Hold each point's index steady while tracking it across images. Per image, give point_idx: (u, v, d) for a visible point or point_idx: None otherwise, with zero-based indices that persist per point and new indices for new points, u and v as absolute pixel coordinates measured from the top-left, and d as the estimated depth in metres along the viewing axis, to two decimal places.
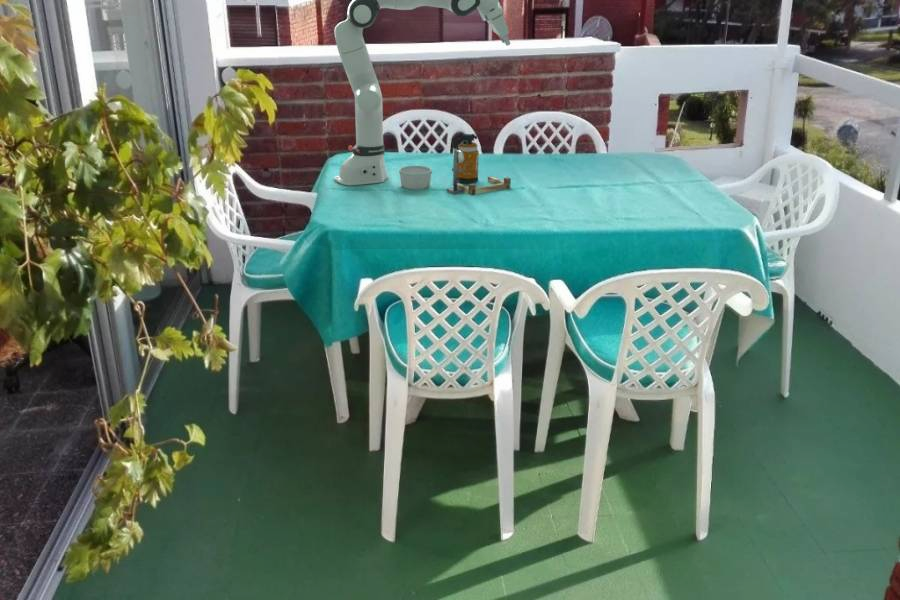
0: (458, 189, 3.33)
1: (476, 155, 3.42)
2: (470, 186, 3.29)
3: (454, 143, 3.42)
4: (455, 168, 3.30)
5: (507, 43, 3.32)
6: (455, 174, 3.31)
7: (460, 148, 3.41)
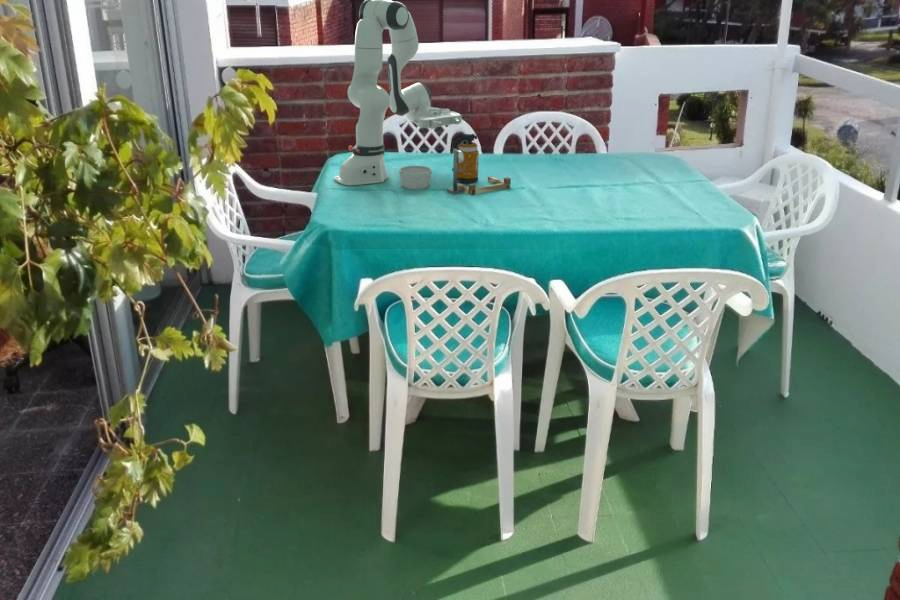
0: (458, 189, 3.33)
1: (476, 155, 3.42)
2: (470, 186, 3.29)
3: (454, 143, 3.42)
4: (455, 168, 3.30)
5: None
6: (455, 174, 3.31)
7: (460, 148, 3.41)
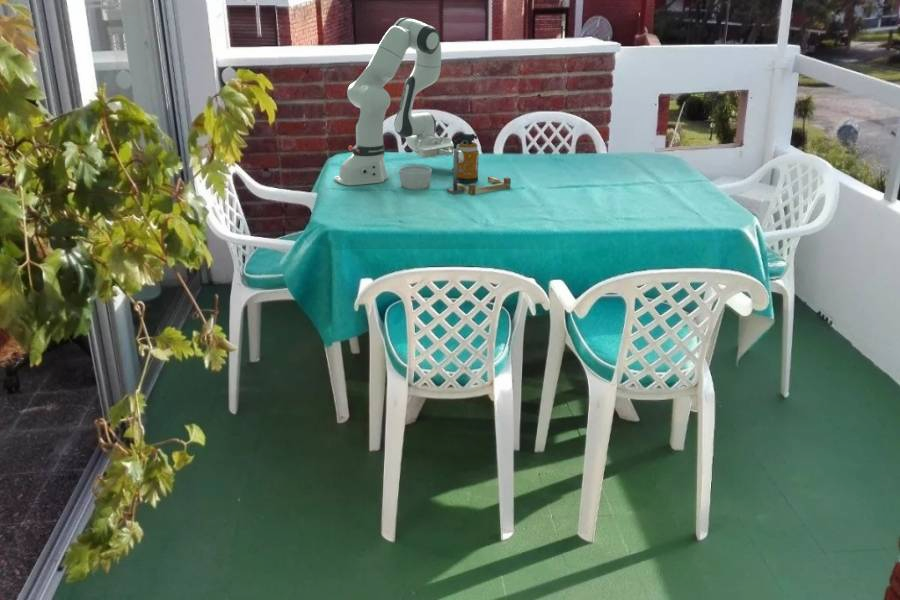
0: (458, 189, 3.33)
1: (476, 155, 3.42)
2: (470, 186, 3.29)
3: (454, 143, 3.42)
4: (455, 168, 3.30)
5: None
6: (455, 174, 3.31)
7: (460, 148, 3.41)
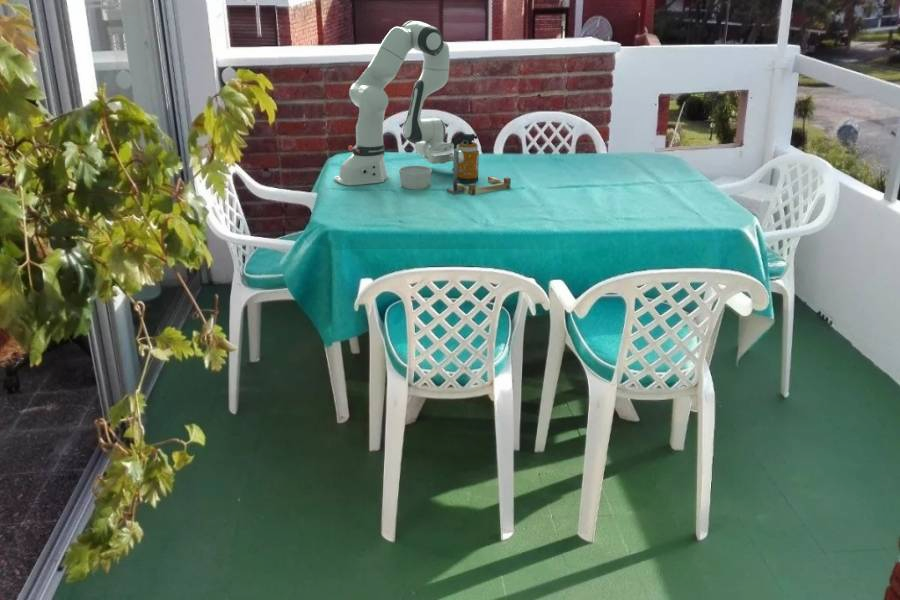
0: (458, 189, 3.33)
1: (476, 155, 3.42)
2: (470, 186, 3.29)
3: (454, 143, 3.42)
4: (455, 168, 3.30)
5: None
6: (455, 174, 3.31)
7: (460, 148, 3.41)
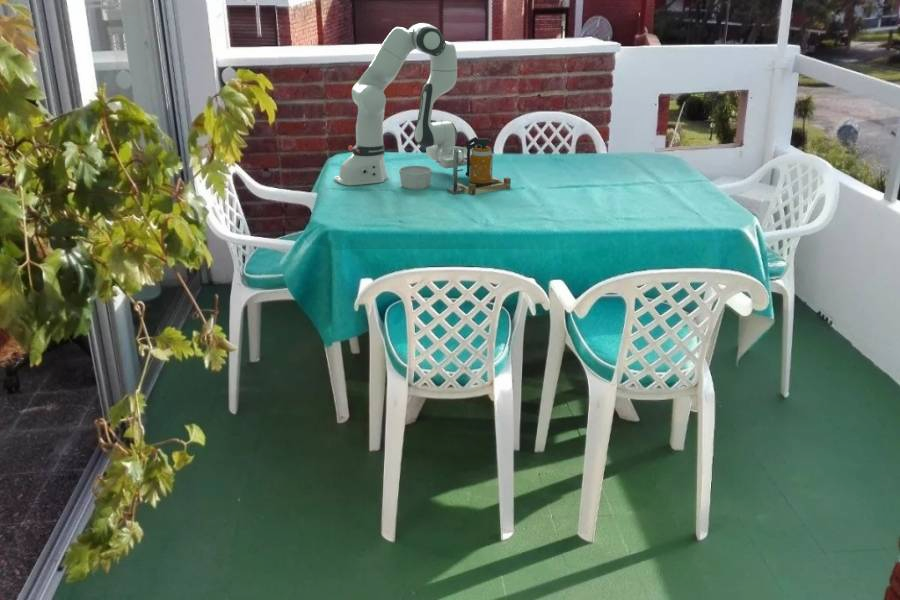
0: (458, 189, 3.33)
1: (490, 160, 3.35)
2: (470, 186, 3.29)
3: (468, 147, 3.35)
4: (455, 168, 3.30)
5: None
6: (455, 174, 3.31)
7: (474, 152, 3.35)
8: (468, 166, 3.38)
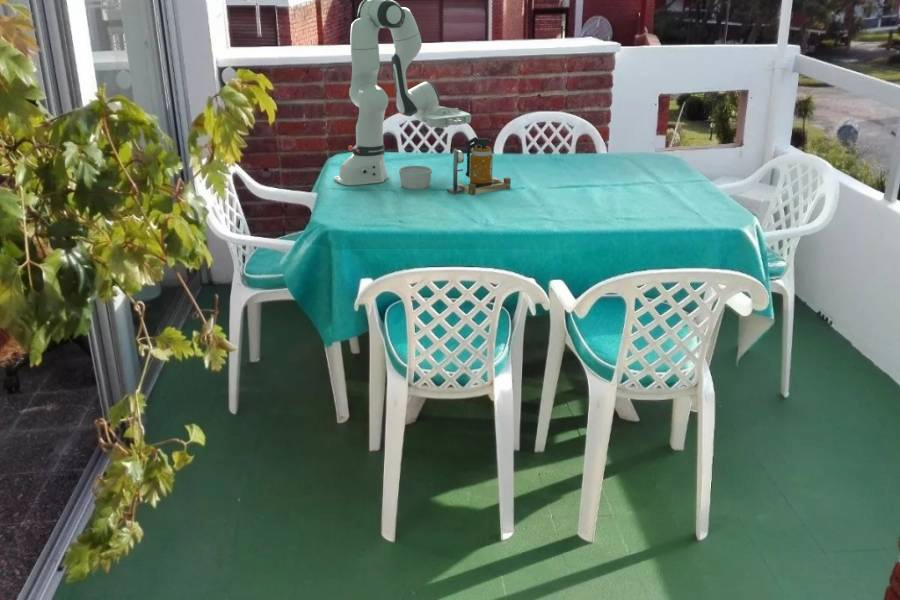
0: (458, 189, 3.33)
1: (490, 160, 3.35)
2: (470, 186, 3.29)
3: (468, 147, 3.35)
4: (455, 168, 3.30)
5: None
6: (455, 174, 3.31)
7: (474, 152, 3.35)
8: (468, 166, 3.38)
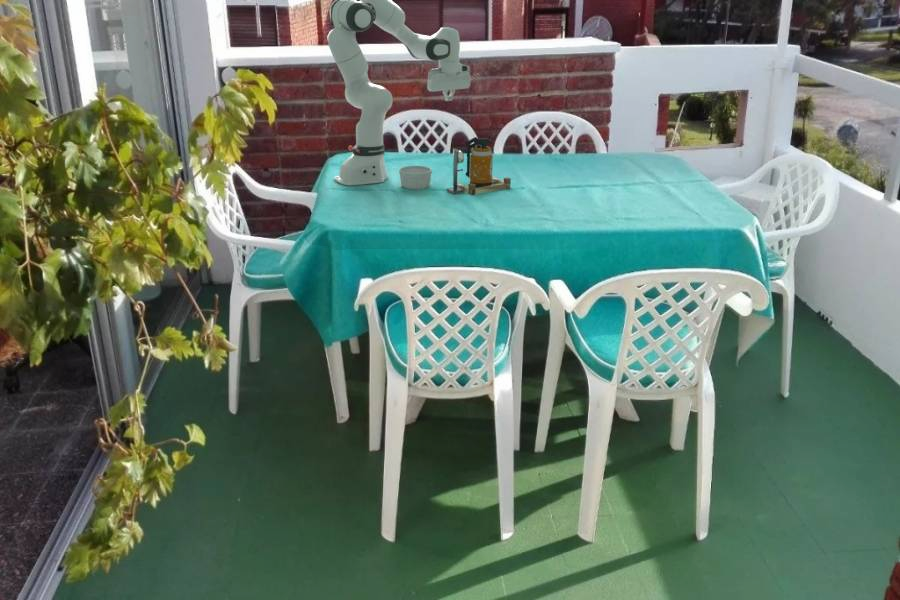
0: (458, 189, 3.33)
1: (490, 160, 3.35)
2: (470, 186, 3.29)
3: (468, 147, 3.35)
4: (455, 168, 3.30)
5: None
6: (455, 174, 3.31)
7: (474, 152, 3.35)
8: (468, 166, 3.38)
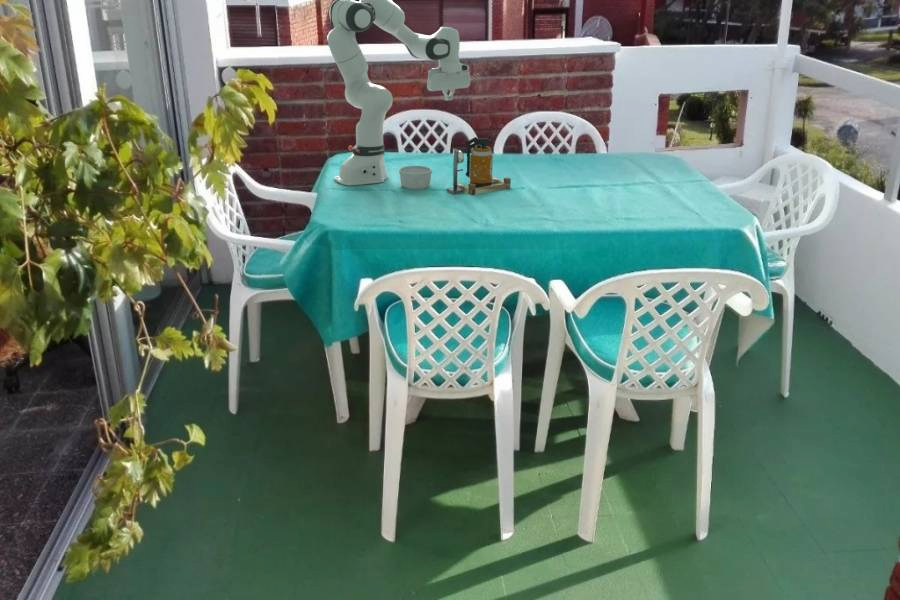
0: (458, 189, 3.33)
1: (490, 160, 3.35)
2: (470, 186, 3.29)
3: (468, 147, 3.35)
4: (455, 168, 3.30)
5: None
6: (455, 174, 3.31)
7: (474, 152, 3.35)
8: (468, 166, 3.38)
